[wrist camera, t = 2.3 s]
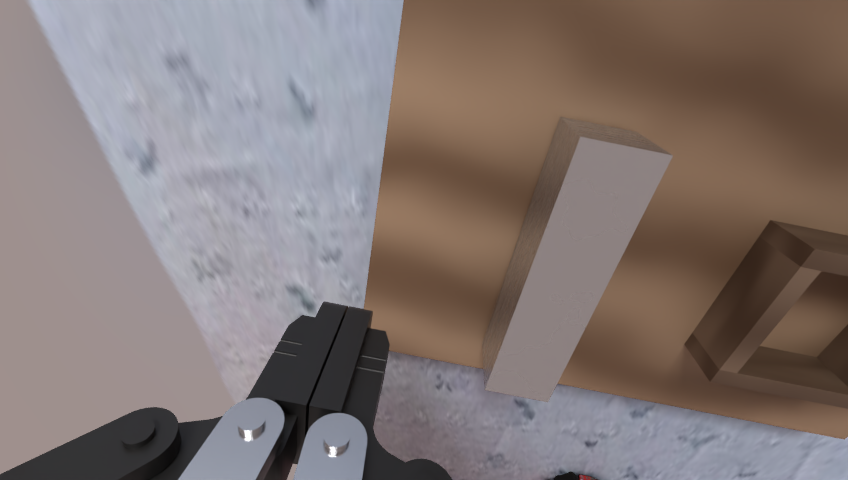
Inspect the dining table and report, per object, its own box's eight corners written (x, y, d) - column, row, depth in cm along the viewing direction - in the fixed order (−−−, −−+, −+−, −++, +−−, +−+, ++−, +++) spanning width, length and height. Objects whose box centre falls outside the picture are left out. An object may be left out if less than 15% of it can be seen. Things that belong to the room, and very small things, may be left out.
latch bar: (559, 116, 15) (580, 136, 12) (636, 132, 15) (672, 155, 12) (482, 343, 21) (484, 390, 18) (537, 354, 21) (547, 402, 18)
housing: (425, -106, 14) (411, -153, 10) (1186, 53, 14) (1452, 66, 10) (366, 321, 24) (348, 379, 20) (816, 409, 24) (883, 482, 20)
